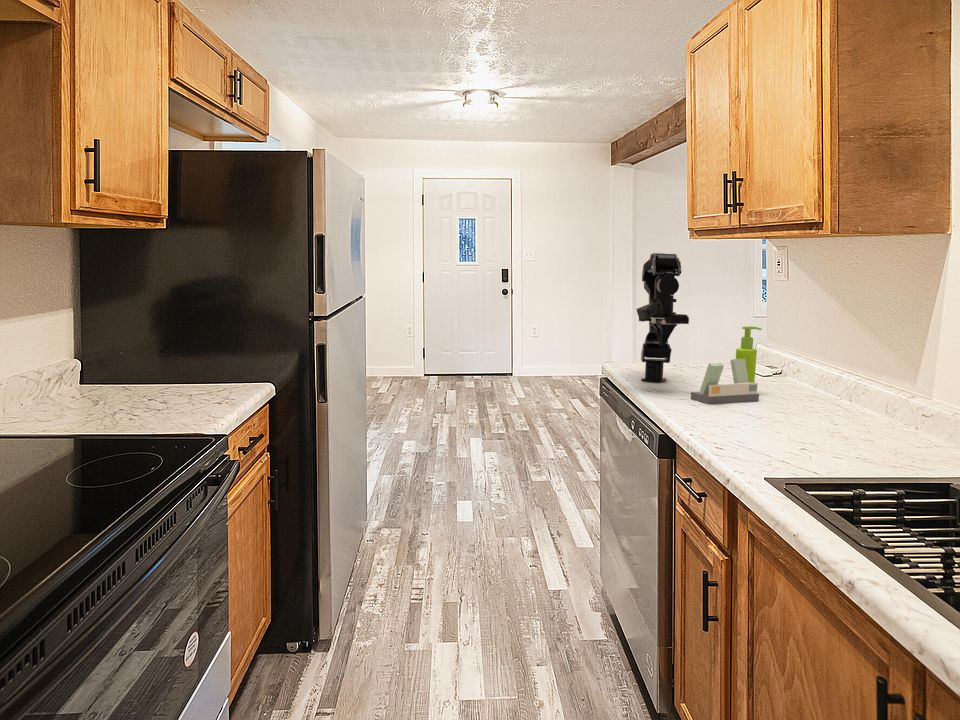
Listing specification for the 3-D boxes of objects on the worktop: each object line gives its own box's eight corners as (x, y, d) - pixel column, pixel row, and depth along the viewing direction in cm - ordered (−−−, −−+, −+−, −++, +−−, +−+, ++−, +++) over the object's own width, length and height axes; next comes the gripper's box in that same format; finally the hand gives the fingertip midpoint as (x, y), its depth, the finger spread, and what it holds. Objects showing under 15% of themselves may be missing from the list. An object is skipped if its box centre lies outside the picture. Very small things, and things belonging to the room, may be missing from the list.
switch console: (690, 398, 233) (691, 381, 233) (739, 395, 240) (740, 378, 239) (708, 404, 226) (709, 385, 225) (758, 400, 233) (759, 382, 232)
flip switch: (699, 391, 230) (708, 363, 226) (711, 390, 231) (720, 362, 227) (702, 394, 229) (712, 366, 224) (714, 393, 230) (724, 365, 226)
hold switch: (735, 390, 235) (730, 360, 237) (746, 390, 237) (741, 359, 238) (739, 389, 234) (733, 359, 235) (750, 389, 235) (744, 358, 237)
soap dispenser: (759, 394, 244) (764, 327, 241) (736, 393, 244) (741, 327, 241) (753, 391, 249) (758, 326, 247) (731, 390, 250) (735, 325, 247)
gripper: (624, 294, 253) (623, 344, 254) (658, 295, 236) (656, 349, 237) (655, 294, 257) (653, 344, 258) (691, 295, 240) (688, 348, 241)
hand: (662, 346), depth 249 cm, fingers closed
